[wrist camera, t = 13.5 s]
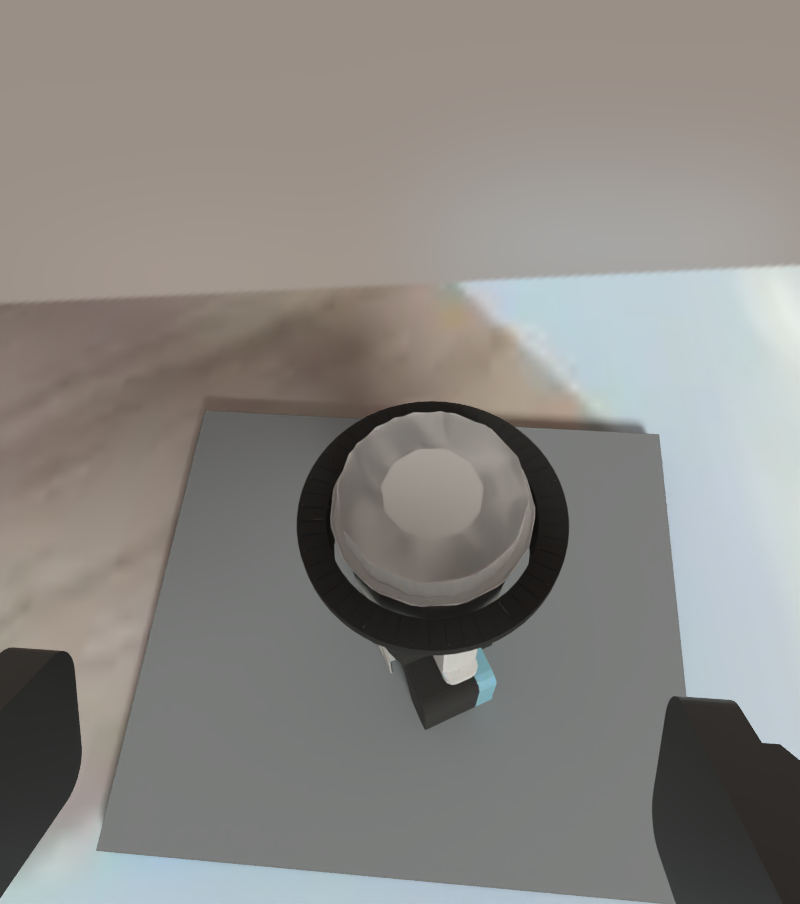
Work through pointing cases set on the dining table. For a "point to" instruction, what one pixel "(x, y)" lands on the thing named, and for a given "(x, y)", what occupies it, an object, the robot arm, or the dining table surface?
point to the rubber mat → (402, 692)
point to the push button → (433, 542)
